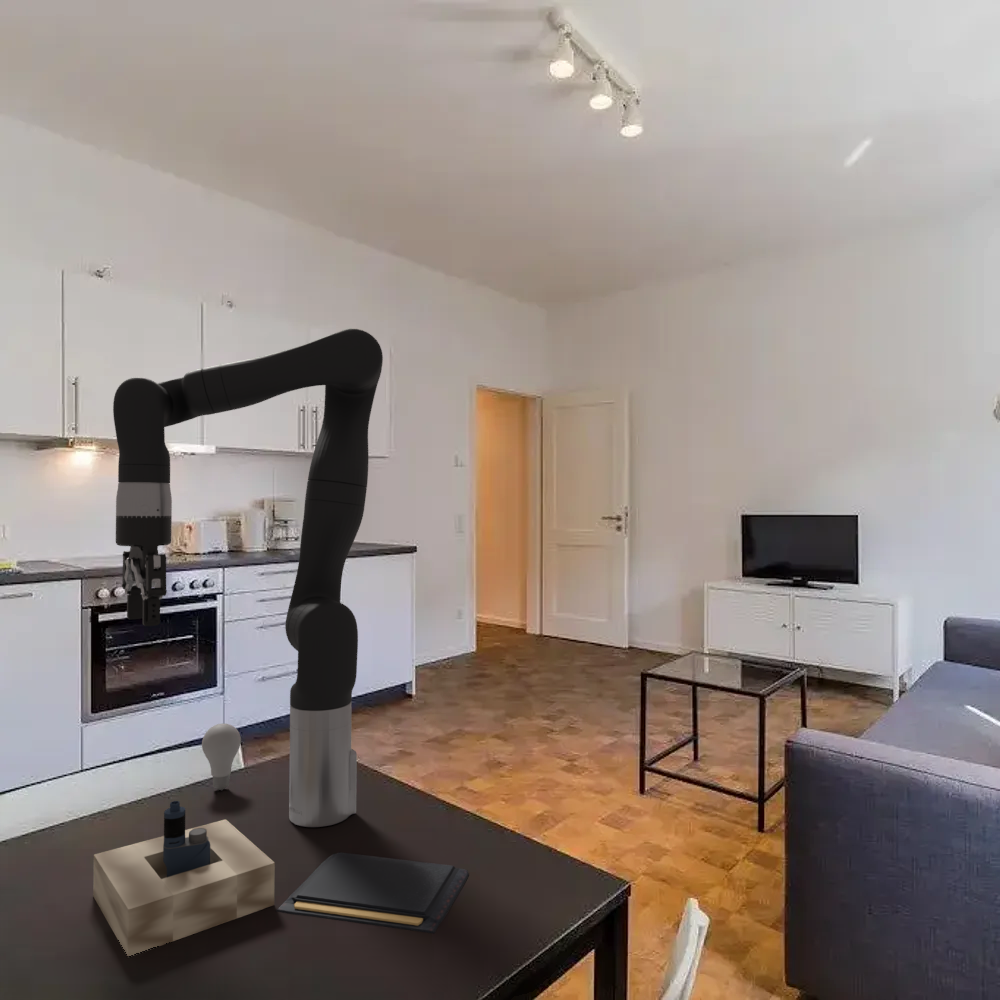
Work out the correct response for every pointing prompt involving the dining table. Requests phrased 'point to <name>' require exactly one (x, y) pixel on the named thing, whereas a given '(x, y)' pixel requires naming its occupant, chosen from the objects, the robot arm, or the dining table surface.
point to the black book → (378, 892)
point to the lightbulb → (221, 752)
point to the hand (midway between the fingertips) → (143, 622)
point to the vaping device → (183, 843)
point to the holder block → (180, 888)
